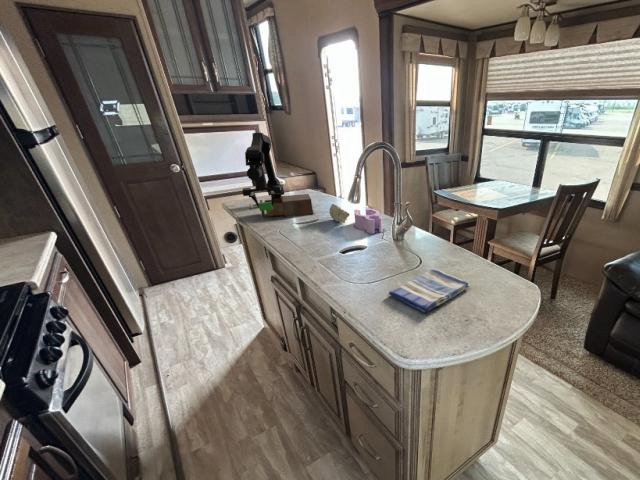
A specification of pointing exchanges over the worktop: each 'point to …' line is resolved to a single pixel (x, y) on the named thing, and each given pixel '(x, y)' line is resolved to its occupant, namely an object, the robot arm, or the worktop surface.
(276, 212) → the drawer
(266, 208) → the green rectangular box
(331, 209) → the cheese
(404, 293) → the dish towel
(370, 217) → the clip
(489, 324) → the worktop surface
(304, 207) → the cabinet
